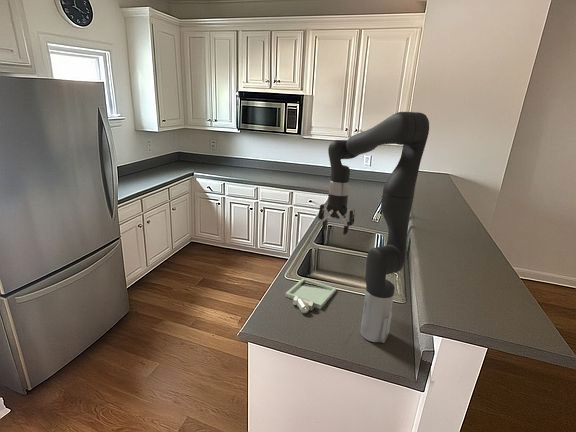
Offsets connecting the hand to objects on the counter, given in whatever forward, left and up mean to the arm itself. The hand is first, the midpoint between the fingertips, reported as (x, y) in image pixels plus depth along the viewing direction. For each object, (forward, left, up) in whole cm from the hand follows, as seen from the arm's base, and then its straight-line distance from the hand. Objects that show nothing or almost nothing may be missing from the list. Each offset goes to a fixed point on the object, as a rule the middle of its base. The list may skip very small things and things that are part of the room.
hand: (334, 231), depth 135 cm
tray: (+6, +5, -28) cm, 29 cm away
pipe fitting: (+4, +20, -26) cm, 33 cm away
